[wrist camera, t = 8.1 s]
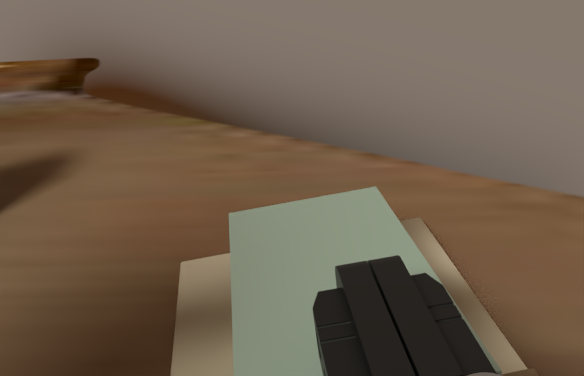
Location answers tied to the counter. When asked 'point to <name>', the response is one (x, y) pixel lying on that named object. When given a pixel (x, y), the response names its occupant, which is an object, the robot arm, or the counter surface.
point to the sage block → (304, 273)
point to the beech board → (218, 312)
